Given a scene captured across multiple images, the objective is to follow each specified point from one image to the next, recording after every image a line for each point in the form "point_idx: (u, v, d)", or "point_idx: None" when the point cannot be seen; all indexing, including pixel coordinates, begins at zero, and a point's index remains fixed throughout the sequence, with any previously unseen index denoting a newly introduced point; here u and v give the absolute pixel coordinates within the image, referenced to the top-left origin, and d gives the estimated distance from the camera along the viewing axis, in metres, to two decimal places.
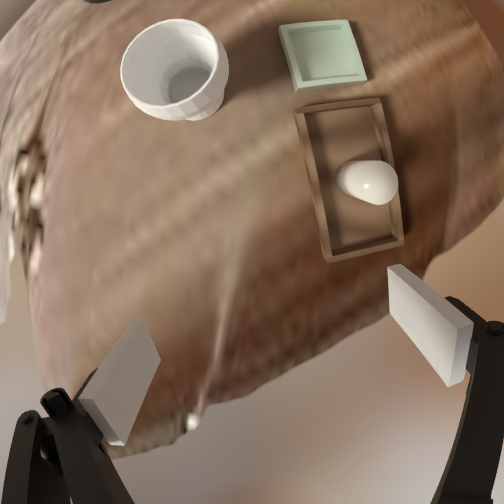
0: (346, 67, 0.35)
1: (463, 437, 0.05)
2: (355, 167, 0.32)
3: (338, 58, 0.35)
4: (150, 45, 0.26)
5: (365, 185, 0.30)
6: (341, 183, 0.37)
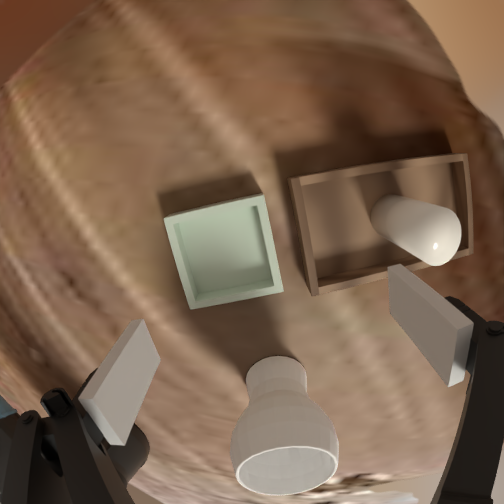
0: (240, 215, 0.31)
1: (463, 437, 0.05)
2: (408, 251, 0.24)
3: (227, 226, 0.31)
4: (246, 461, 0.27)
5: (440, 256, 0.22)
6: None
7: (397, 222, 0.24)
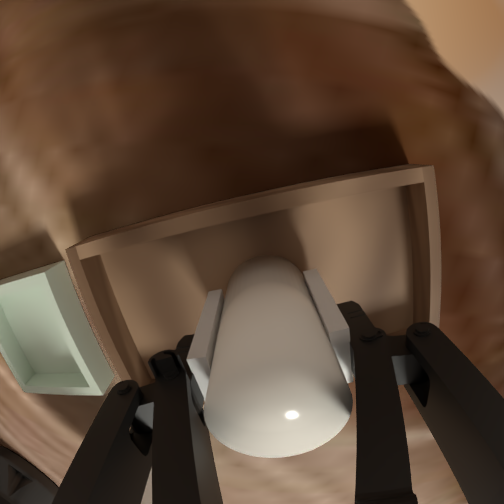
0: (44, 291, 0.19)
1: (361, 445, 0.06)
2: None
3: (35, 303, 0.19)
4: None
5: (287, 445, 0.09)
6: None
7: (215, 347, 0.12)
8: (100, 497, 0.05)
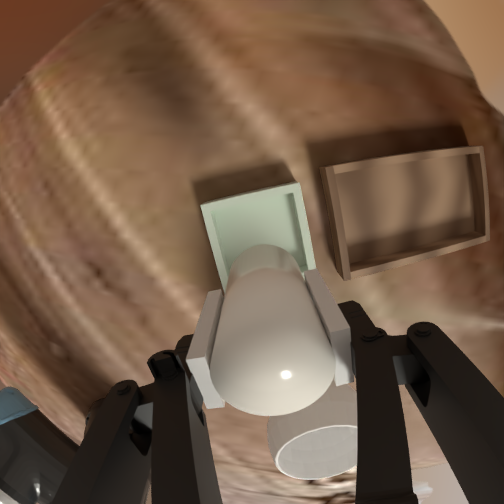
0: (274, 203, 0.31)
1: (361, 445, 0.06)
2: None
3: (262, 213, 0.32)
4: None
5: (281, 402, 0.11)
6: None
7: None
8: (100, 497, 0.05)
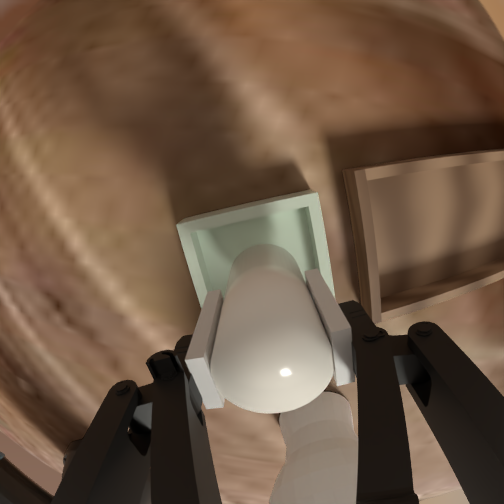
0: (281, 220, 0.23)
1: (362, 445, 0.06)
2: None
3: (263, 234, 0.23)
4: None
5: (281, 400, 0.12)
6: None
7: None
8: (99, 497, 0.05)
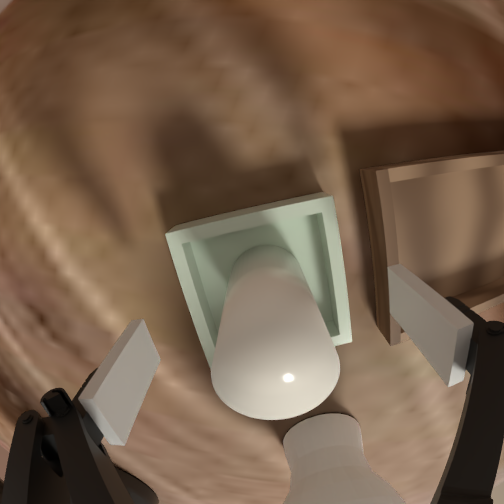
0: (289, 227, 0.19)
1: (463, 437, 0.05)
2: None
3: (267, 244, 0.20)
4: None
5: (284, 406, 0.11)
6: None
7: None
8: None
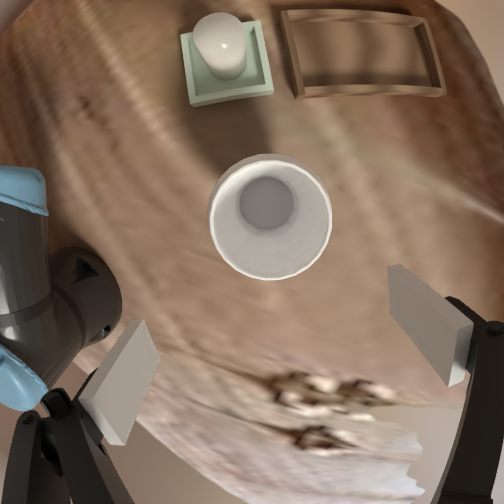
0: None
1: (463, 437, 0.05)
2: (204, 57, 0.26)
3: None
4: (225, 245, 0.28)
5: (220, 45, 0.23)
6: (229, 72, 0.30)
7: None
8: None
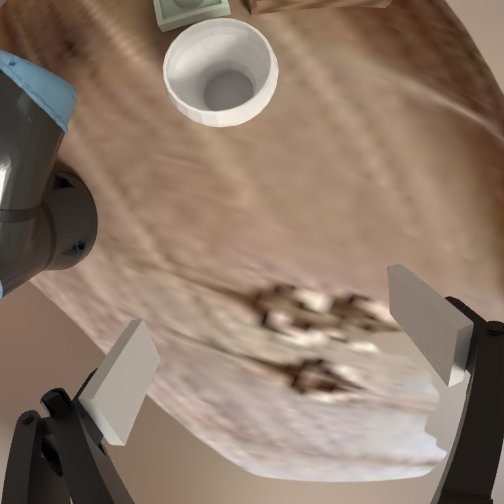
0: None
1: (463, 437, 0.05)
2: None
3: None
4: None
5: None
6: None
7: None
8: None
